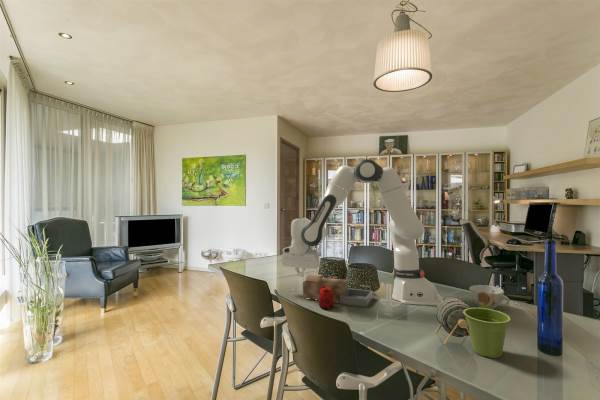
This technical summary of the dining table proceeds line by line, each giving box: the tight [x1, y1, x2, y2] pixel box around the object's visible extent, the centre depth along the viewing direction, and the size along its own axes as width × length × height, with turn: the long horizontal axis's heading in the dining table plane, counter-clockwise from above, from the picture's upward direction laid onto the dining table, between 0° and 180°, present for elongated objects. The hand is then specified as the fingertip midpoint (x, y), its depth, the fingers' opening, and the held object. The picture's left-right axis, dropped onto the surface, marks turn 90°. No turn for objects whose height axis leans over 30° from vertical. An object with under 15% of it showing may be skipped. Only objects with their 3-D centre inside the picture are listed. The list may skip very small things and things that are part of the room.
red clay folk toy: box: [318, 273, 335, 310], centre depth 131 cm, size 8×7×15 cm
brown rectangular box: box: [302, 277, 349, 304], centre depth 145 cm, size 19×12×8 cm, turn 64°
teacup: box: [469, 284, 510, 310], centre depth 125 cm, size 15×12×8 cm
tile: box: [305, 273, 323, 282], centre depth 148 cm, size 6×6×2 cm
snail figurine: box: [477, 290, 495, 309], centre depth 112 cm, size 5×6×12 cm
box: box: [339, 288, 374, 308], centre depth 138 cm, size 12×14×4 cm
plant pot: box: [462, 307, 511, 359], centre depth 88 cm, size 12×12×11 cm
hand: (300, 276), depth 151 cm, fingers closed
